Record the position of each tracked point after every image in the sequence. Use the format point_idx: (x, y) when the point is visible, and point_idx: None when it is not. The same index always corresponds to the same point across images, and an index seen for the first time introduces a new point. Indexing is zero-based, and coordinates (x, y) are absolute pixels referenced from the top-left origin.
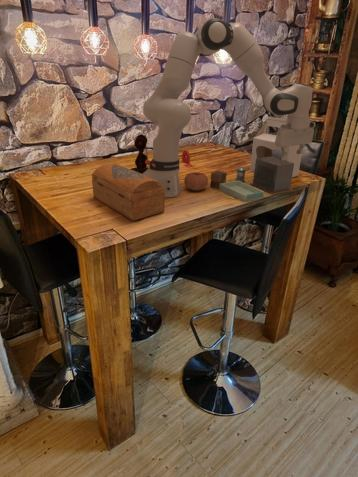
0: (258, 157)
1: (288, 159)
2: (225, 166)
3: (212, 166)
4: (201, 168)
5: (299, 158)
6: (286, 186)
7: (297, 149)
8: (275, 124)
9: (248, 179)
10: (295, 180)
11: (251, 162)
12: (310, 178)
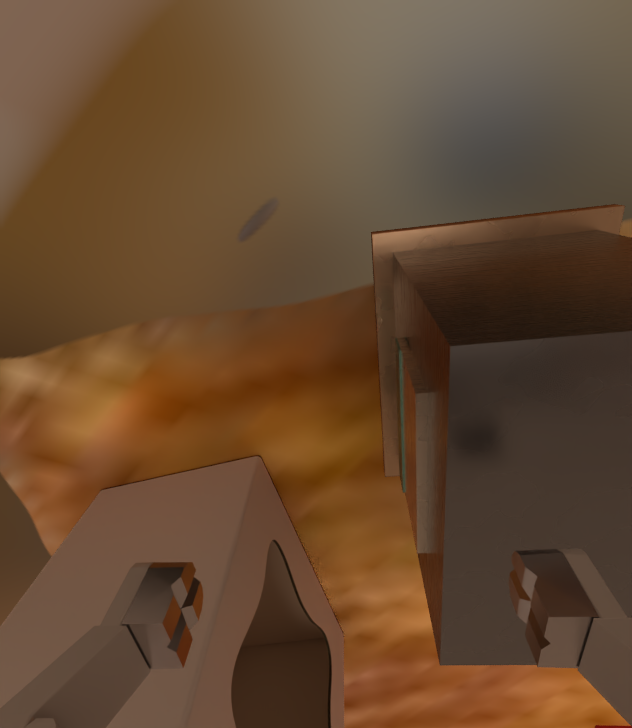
0: (269, 722)
1: None
2: (422, 702)
3: (486, 718)
4: (566, 715)
5: (35, 607)
6: (449, 252)
7: None
8: None
9: None
10: (177, 424)
11: (342, 687)
12: (39, 422)
